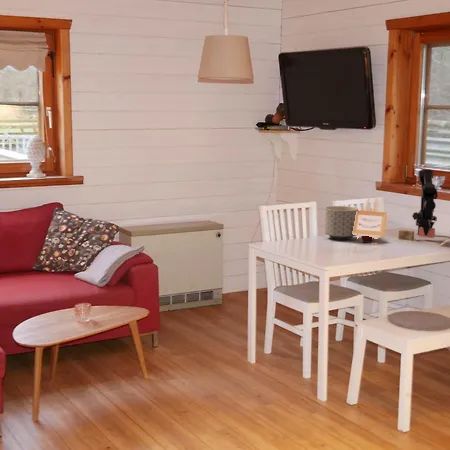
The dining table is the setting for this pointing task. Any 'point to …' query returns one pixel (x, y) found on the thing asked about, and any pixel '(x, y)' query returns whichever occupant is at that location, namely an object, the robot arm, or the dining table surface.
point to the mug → (367, 239)
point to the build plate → (406, 240)
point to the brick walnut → (406, 235)
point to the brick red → (430, 233)
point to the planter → (340, 222)
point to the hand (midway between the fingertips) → (426, 234)
